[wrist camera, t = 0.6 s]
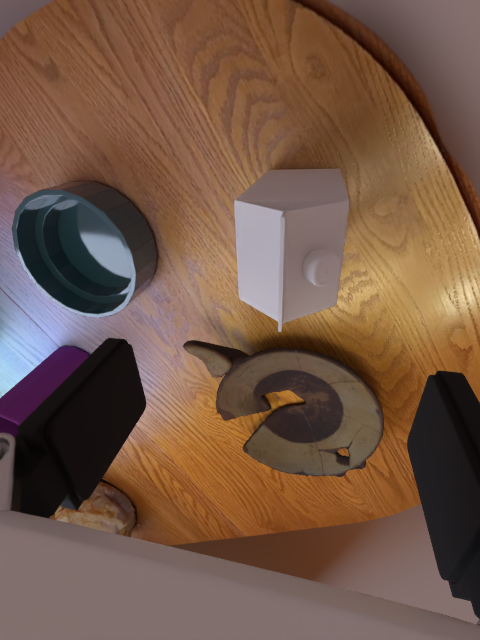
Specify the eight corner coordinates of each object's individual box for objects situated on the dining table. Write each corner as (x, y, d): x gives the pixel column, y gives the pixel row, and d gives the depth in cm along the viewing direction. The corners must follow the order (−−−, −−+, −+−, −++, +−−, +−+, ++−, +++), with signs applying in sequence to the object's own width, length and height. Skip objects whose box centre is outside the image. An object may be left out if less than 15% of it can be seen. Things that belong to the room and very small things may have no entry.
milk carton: (268, 237, 37) (224, 327, 21) (268, 169, 33) (216, 215, 17) (333, 239, 35) (338, 337, 20) (340, 167, 32) (355, 217, 16)
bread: (87, 522, 93) (54, 586, 82) (26, 469, 79) (-25, 537, 67) (161, 527, 85) (136, 599, 74) (107, 469, 71) (66, 547, 59)
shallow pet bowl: (32, 180, 40) (-10, 189, 35) (146, 179, 36) (117, 189, 31) (70, 292, 47) (41, 312, 43) (167, 299, 44) (147, 322, 39)
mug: (82, 339, 52) (6, 408, 40) (132, 407, 59) (81, 485, 46) (44, 350, 56) (-37, 417, 43) (96, 413, 62) (38, 488, 50)
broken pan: (264, 457, 58) (256, 499, 51) (177, 321, 46) (153, 354, 40) (398, 441, 49) (409, 490, 42) (333, 267, 37) (334, 298, 30)
